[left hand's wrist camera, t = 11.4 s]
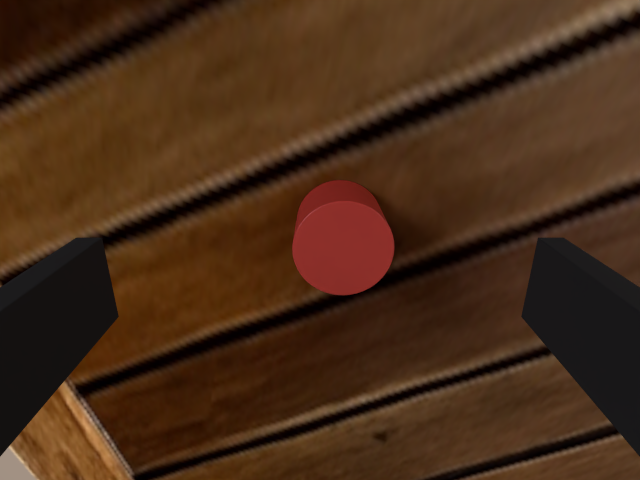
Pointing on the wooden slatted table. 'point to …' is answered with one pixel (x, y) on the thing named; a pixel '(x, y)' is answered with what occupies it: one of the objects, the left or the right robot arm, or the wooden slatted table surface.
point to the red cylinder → (342, 239)
